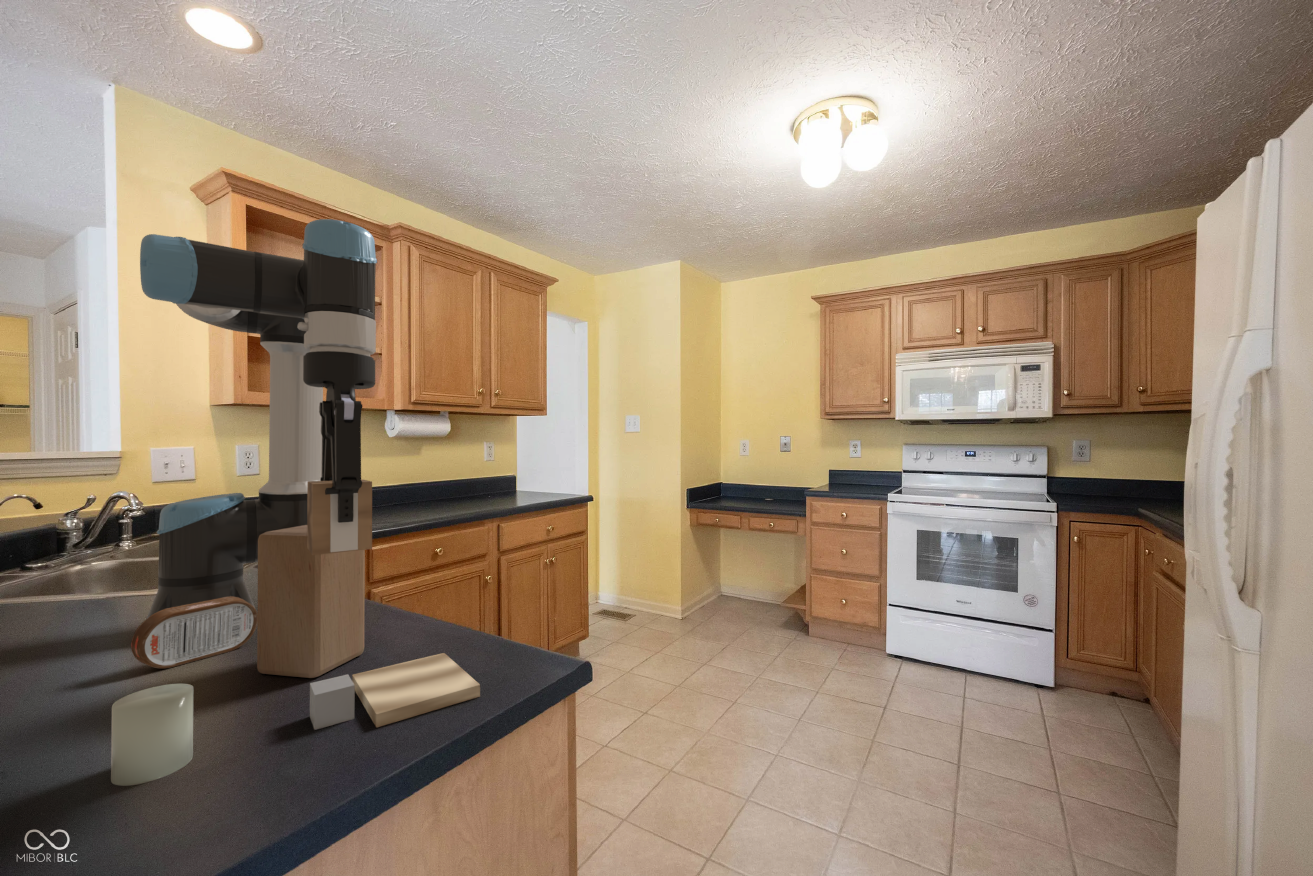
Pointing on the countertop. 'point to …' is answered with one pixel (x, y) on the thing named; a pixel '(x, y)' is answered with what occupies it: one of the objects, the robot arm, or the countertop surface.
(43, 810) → the countertop surface
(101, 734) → the countertop surface
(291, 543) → the block
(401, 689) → the board
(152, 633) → the tin
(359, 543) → the walnut block
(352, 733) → the countertop surface
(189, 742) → the pale green rounded cylinder
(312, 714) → the slate cube
